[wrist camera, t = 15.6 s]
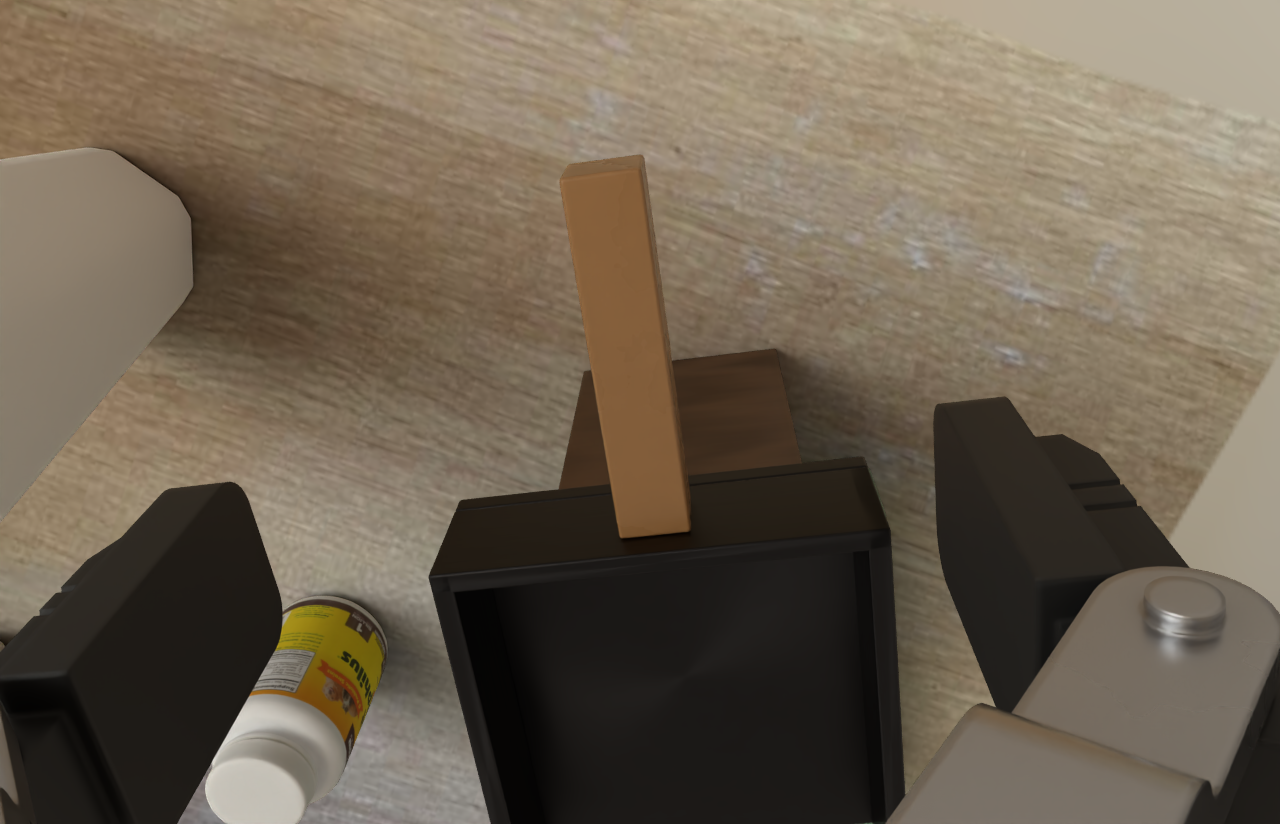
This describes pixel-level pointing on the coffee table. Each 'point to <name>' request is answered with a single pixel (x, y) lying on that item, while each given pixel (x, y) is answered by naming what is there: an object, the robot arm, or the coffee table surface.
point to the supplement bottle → (300, 715)
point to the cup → (77, 294)
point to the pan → (671, 599)
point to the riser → (703, 419)
